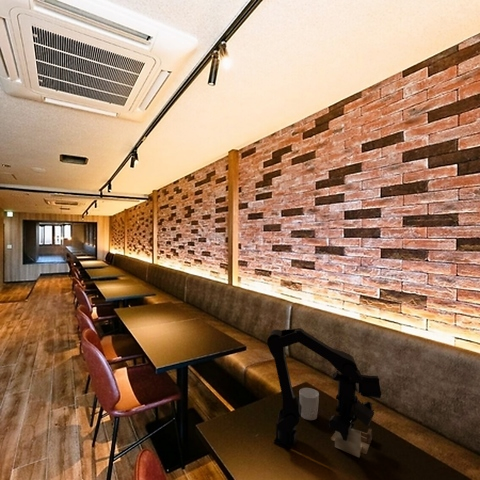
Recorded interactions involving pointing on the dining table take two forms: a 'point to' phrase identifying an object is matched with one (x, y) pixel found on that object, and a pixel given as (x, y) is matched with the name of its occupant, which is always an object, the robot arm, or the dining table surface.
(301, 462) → the dining table surface
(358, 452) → the birch sheet
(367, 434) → the rack
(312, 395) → the white cup
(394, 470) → the dining table surface
